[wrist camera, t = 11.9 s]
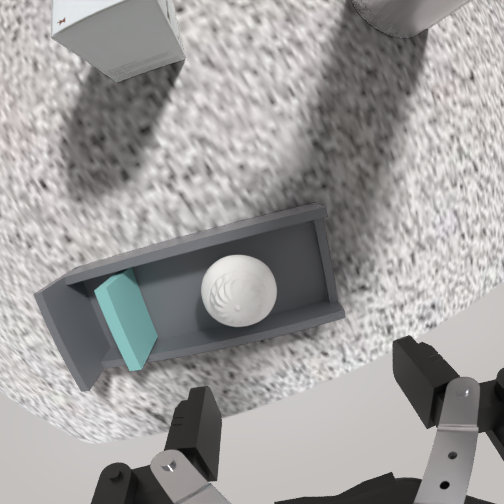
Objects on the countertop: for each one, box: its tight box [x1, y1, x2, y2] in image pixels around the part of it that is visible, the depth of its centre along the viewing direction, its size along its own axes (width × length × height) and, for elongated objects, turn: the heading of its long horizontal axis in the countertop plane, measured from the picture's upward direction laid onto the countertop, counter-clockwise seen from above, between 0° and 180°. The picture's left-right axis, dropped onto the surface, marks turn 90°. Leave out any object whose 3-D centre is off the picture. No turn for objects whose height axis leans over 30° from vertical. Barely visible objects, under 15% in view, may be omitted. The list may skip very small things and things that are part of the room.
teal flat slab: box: [94, 267, 158, 371], centre depth 26 cm, size 1×8×6 cm, turn 14°
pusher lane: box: [34, 203, 345, 391], centre depth 26 cm, size 25×10×8 cm, turn 104°
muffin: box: [201, 255, 277, 327], centre depth 25 cm, size 6×6×7 cm
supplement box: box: [51, 0, 186, 83], centre depth 17 cm, size 7×7×13 cm
